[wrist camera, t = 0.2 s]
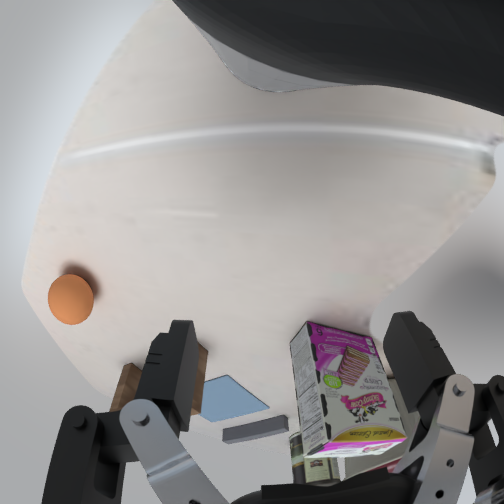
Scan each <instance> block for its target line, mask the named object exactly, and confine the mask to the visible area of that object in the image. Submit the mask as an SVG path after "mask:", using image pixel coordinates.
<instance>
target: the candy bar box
mask: <svg viewBox="0 0 504 504" xmlns="http://www.w3.org/2000/svg"><path fill="white" fill-rule="evenodd" d="M290 351H291V358H292V365H293V373H294V380H295V390H296V398H297V406H298V414H299V423H300V433H301V443H302V452H303V457H304V458H337V457H358V456H370V455H379V454H382V453H384V452H386V451H387V450H389V449H391V448H393V447H395V446H396V445H397V444H400V443H402V442H403V441H404V440H405V439H406V438H407V435H406V432H405V429H404V425H403V422H402V419H401V416H400V413H399V410H398V407H397V404H396V401H395V398H394V395H393V392H392V390H391V387H390V385H389V382H388V379H387V376H386V373H385V371H384V368H383V365H382V363H381V360H380V357H379V355H378V352H377V350H376V347H375V344H374V342H373V339H372V338H371V337H367V336H362V335H358V334H354V333H350V332H345V331H342V330H338V329H333V328H330V327H326V326H322V325H318V324H314V323H311V322H306V323H305V324H304V325H303V327H302V328H301V330H300V331H299V333H298V334H297V335H296V336H295V338H294V339H293V340H292V342H291V343H290Z"/></svg>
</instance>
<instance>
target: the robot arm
mask: <svg viewBox="0 0 504 504" xmlns="http://www.w3.org/2000/svg"><path fill="white" fill-rule="evenodd" d="M172 1H173V2H174V3H175V4H176V5H177V6H178V7H179V8H180V9H181V10H182V12H183V13H184V14H185V15H186V16H187V17H188V18H189V19H190V21H191V22H192V23H193V24H194V25H195V27H196V28H197V29H198V30H199V32H200V33H201V34H202V35H203V37H204V38H205V39H206V40H207V41H208V42H209V44H210V45H211V46H212V48H213V49H214V50H215V52H216V53H217V54H218V56H219V57H220V58H221V60H222V61H223V63H224V64H225V65H226V67H227V68H228V69H229V70H230V71H231V72H232V73H233V75H234V76H236V77H237V78H238V79H240V80H241V81H242V82H244V83H246V84H248V85H250V86H252V87H254V88H257V89H261V90H264V91H270V92H286V91H287V92H290V91H296V90H302V89H311V88H322V87H333V86H351V85H382V86H390V87H396V88H402V89H408V90H413V91H418V92H423V93H428V94H432V95H436V96H440V97H444V98H448V99H451V100H455V101H458V102H462V103H465V104H468V105H472V106H475V107H478V108H481V109H484V110H487V111H490V112H493V113H496V114H499V115H502V116H504V0H172ZM383 349H384V353H385V355H386V358H387V360H388V363H389V365H390V367H391V370H392V372H393V375H394V377H395V380H396V382H397V385H398V387H399V390H400V392H401V395H402V398H403V400H404V403H405V405H406V408H407V411H408V414H409V413H413V412H417V411H418V412H419V417H418V418H417V420H416V423H415V426H414V429H413V432H412V435H411V437H410V440H409V442H408V445H407V448H406V450H405V452H404V455H403V456H402V458H401V460H400V461H399V462H398V464H397V465H396V467H395V468H394V470H393V472H392V473H390V472H388V469H387V467H384V468H380V469H376V470H372V471H368V472H364V473H359V474H357V475H355V476H353V477H350V478H348V479H346V480H344V481H341V482H339V483H336V484H334V485H331V486H314V485H304V484H296V483H293V484H279V485H262V486H261V490H260V491H256V492H252V493H250V494H247V495H244V496H242V497H240V498H238V499H237V500H235V501H233V502H232V503H231V504H456V503H457V501H458V498H459V495H460V492H461V489H462V486H463V483H464V479H465V476H466V472H467V469H468V465H469V468H470V471H471V475H472V479H473V483H474V488H475V492H476V496H477V497H476V500H475V503H473V504H504V377H503V376H501V375H496V376H493V377H492V378H491V379H490V381H489V382H488V383H487V384H473V383H472V382H471V381H470V379H469V378H467V377H466V376H464V375H461V374H456V373H455V371H454V369H453V367H452V365H451V364H450V362H449V360H448V358H447V357H446V355H445V353H444V351H443V349H442V348H441V347H440V344H439V343H438V341H437V340H436V338H435V336H434V334H433V333H432V331H431V329H430V328H428V327H427V326H426V325H425V324H424V323H422V322H419V321H418V319H417V318H416V316H415V314H414V313H413V312H412V311H407V312H398V313H394V314H393V316H392V319H391V322H390V324H389V327H388V330H387V332H386V335H385V337H384V341H383ZM198 361H199V349H198V343H197V338H196V333H195V328H194V323H193V321H192V320H173V321H172V323H171V327H170V330H169V333H159V334H158V336H157V337H156V338H155V339H154V340H153V341H152V343H151V346H150V349H149V352H148V355H147V358H146V361H145V362H146V363H145V364H144V368H143V371H142V374H141V377H140V381H139V384H138V387H137V391H136V394H135V397H134V399H133V400H132V401H130V402H129V403H127V404H126V405H125V406H124V407H123V408H122V409H121V410H118V411H113V412H105V413H95V412H94V411H93V410H92V409H91V408H89V407H87V406H82V405H80V406H75V407H72V408H71V409H69V410H68V411H67V412H66V413H65V415H64V417H63V420H62V423H61V427H60V430H59V433H58V436H57V440H56V444H55V447H54V450H53V454H52V458H51V462H50V466H49V470H48V474H47V479H46V483H45V488H44V493H43V498H42V504H121V496H122V488H123V480H124V473H125V466H126V462H135V461H140V462H141V464H142V466H143V468H144V469H145V471H146V473H147V479H148V481H149V483H150V485H151V487H152V488H153V490H154V491H155V493H156V494H157V496H158V498H159V499H160V501H161V502H162V503H163V504H229V503H228V502H227V500H226V499H225V498H224V497H223V496H222V495H221V494H220V492H219V491H218V490H217V489H216V488H215V486H214V485H213V484H212V483H211V481H210V480H209V479H208V478H207V476H206V475H205V474H204V473H203V471H202V470H201V469H200V468H199V466H198V465H197V463H196V462H195V461H194V460H193V458H192V457H191V456H190V455H189V454H188V452H187V451H186V449H185V448H184V447H183V445H182V444H181V442H180V441H179V434H180V431H185V432H188V430H189V422H190V415H191V408H192V401H193V394H194V388H195V381H196V374H197V368H198ZM491 418H492V420H493V423H494V425H495V428H496V431H497V433H498V436H499V443H498V445H497V447H496V446H495V443H494V440H493V437H492V435H491V432H490V429H489V426H488V424H487V422H488V421H489V420H490V419H491Z"/></svg>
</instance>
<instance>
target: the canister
mask: <svg viewBox="0 0 504 504" xmlns="http://www.w3.org/2000/svg"><path fill="white" fill-rule="evenodd" d="M388 382H389V385H390V387H391V390H392V392H393V395H394V398H395V401H396V404H397V407H398V410H399V413H400V416H401V419H402V422H403V425H404V429H405V432H406V435H407V438H406V439H405V440H404V441H403V442H402V443H400V444H397V445H396V446H395V447H393V448H391V449H389V450H387V451H386V452H384V453H382V454H379V455H370V456H358V457H345V472H346V473H345V474H346V478H344V480H346V479H348V478H350V477H353V476H355V475H357V474H359V473H364V472H368V471H372V470H376V469H380V468H384V467H387V469H388V472H390V473H392V472H393V470H394V468H395V467H396V465H397V464H398V462H399V461H400V460H401V458H402V456H403V455H404V452H405V450H406V448H407V445H408V442H409V440H410V437H411V435H412V432H413V429H414V426H415V423H416V420H417V418H418V417H419V412H418V411H417V412H413V413H409V414H408V411H407V408H406V405H405V403H404V400H403V398H402V395H401V392H400V390H399V387H398V385H397V382H396V380H395V379H388ZM344 480H343V481H344Z"/></svg>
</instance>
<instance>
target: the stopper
mask: <svg viewBox="0 0 504 504" xmlns="http://www.w3.org/2000/svg"><path fill="white" fill-rule="evenodd" d="M287 431H289V427H288V418H287V417H285V416H284V415H281V416H277V417H274V418H270V419H266V420H262V421H258V422H254V423H250V424H246V425H241V426H237V427H232V428H227V429H223V440H222V441H223V442H225V443H227V444H232V443H237V442H243V441H248V440H253V439H258V438H262V437H267V436H271V435H275V434H280V433H284V432H287Z"/></svg>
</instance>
